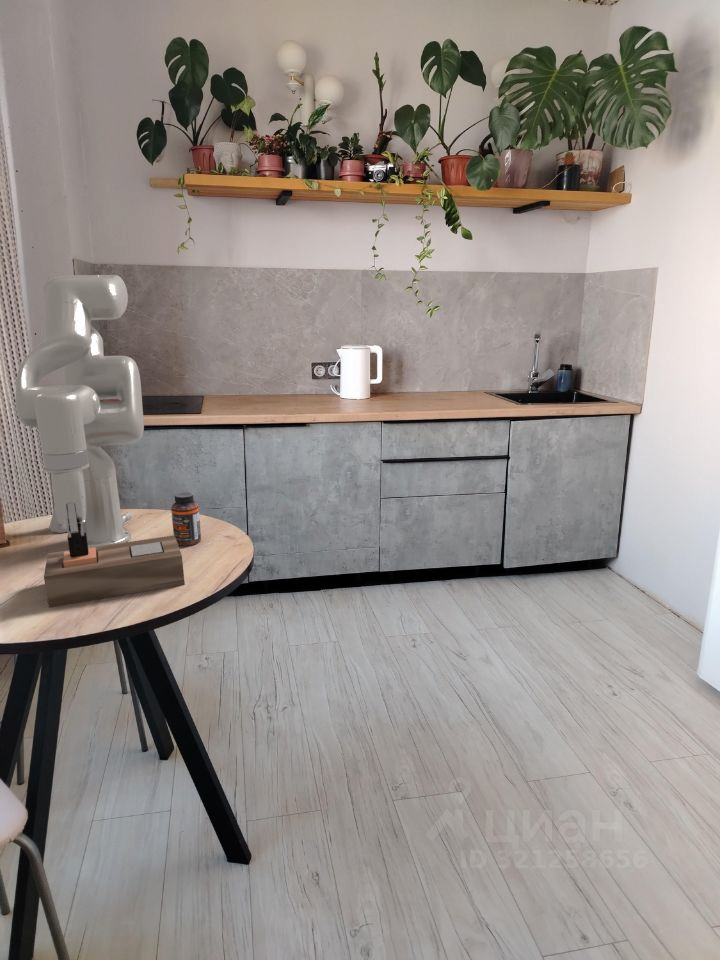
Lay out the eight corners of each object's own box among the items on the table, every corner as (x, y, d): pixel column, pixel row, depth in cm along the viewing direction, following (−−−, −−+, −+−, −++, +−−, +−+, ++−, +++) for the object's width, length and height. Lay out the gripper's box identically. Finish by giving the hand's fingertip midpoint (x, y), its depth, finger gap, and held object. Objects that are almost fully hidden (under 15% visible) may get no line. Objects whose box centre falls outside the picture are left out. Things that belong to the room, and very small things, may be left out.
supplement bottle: (170, 546, 149) (165, 497, 145) (180, 537, 154) (175, 490, 151) (196, 547, 148) (191, 498, 145) (205, 537, 154) (201, 490, 150)
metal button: (133, 569, 134) (130, 546, 132) (162, 565, 135) (159, 542, 134) (135, 580, 129) (132, 556, 127) (165, 575, 130) (162, 551, 129)
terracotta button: (67, 575, 129) (64, 551, 128) (98, 571, 131) (95, 547, 130) (67, 587, 124) (63, 562, 123) (99, 581, 126) (95, 557, 125)
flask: (72, 521, 167) (66, 483, 164) (87, 527, 162) (82, 487, 160) (43, 529, 161) (37, 490, 159) (58, 535, 157) (52, 495, 154)
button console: (52, 581, 131) (47, 553, 130) (177, 562, 140) (174, 535, 138) (48, 607, 121) (43, 576, 119) (184, 584, 129) (181, 555, 127)
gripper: (45, 453, 127) (59, 544, 132) (40, 472, 113) (56, 572, 118) (88, 449, 129) (100, 539, 134) (88, 467, 116) (101, 565, 121)
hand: (79, 554), depth 126 cm, fingers closed
